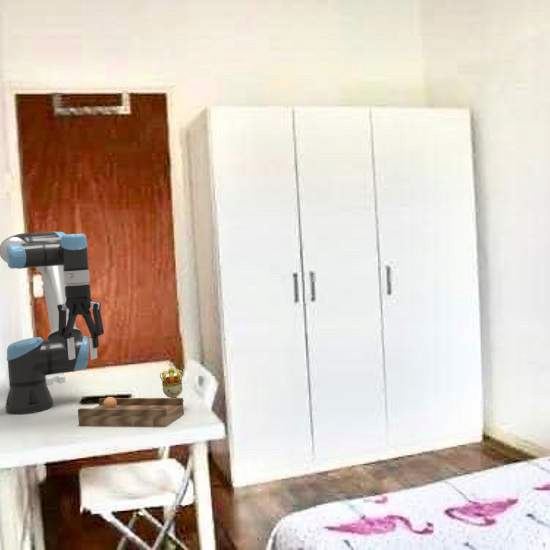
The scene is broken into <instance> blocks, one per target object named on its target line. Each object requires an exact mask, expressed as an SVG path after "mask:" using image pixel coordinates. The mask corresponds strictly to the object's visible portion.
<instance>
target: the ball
mask: <svg viewBox="0 0 550 550" xmlns="http://www.w3.org/2000/svg"><path fill="white" fill-rule="evenodd" d="M105 398H106V399H105V400H104V403H103V405H104V407H105V408H113V409H114V408H115V407H116V405H117V401H116V399H115V398H116V397H113V396H108V397H105Z"/></svg>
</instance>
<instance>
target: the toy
mask: <svg viewBox="0 0 550 550" xmlns="http://www.w3.org/2000/svg"><path fill="white" fill-rule="evenodd" d="M168 366H170V367H169V369H168V370H164V371H161V373H160V374H159V377H160V379H161V381H162V382H161V386H162V393H163V394H164V395H165V396H166V398H179V396H180V395H181V394H182V392H183V381H182V380H183V379H182V378H183V376H184V373H183V371H182V370H181V369H180V370H179V369H175V368H172V362H171V363H169V364H168ZM167 374H168V376H167ZM175 374H176V375H175ZM183 403H184V399H183Z"/></svg>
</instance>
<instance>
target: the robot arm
mask: <svg viewBox="0 0 550 550" xmlns="http://www.w3.org/2000/svg"><path fill="white" fill-rule="evenodd" d="M88 254H89V252H88V243H87V236H86V234H85V233H70V234H67V233H65V232H63V231H53V230H52V231H49V232H48V231H45V232H44V231H43V232H26V233H18V234H14V235H12V236H9V237H6V238H5V239H4V240H3V241H2V242H1V244H0V258H1V259H2V260H3V262H5V263H7V266H8V268H10V269H11V270H13V269H16V270H17V269H18V270H21V269H27V268H35V269H36V271H37V272H38V273H41V277H42V283H43V284H42V285H43V291H44V296H45V297H44V298H45V302H46V311H47V315H48V321H49V328H50V333H48V335H47V336H46V337H47V340H44V339H43V337H39V336H37V337H31V338H25V339H21V340H18V341H15V342H12V343H11V344H9V345H8V347H7V348H6V361H7V369H8V371H7V372H8V383H9V389H8V390H9V391H8V394H7V398H6V402H5V413H7V414H10V415H11V414H13V415H24V414H32V413H37V412H42V411H45V410H46V411H47V410H48V409H51V408H53V406H54V399H53V397H52V394H51V392H50V390H49V387H48V385H47V383H46V375H51V374H59V373H64V374H66V373H72V372H73V373H74V372H77V371H83V370H85V369H87V367H88V364H89V358H90V360H95V359H98V349H97V348H99V346H100V343H99V341H100V340H99V337H100V336H102V335H104V333H105V331H104V330H105V329H104V325H103V320H102V319H103V318H102V314H101V307H102V306H101V305H102V304H101V302H94V301H92V298H91V295H92V293H91V291H92V290H91V285H90V284H89V283H90V282H91V281H90V280H91V279H90V268H89V255H88ZM90 309H92V312H91V310H90ZM78 315H79V316H82V318H83V319H84V322H85V324H86V326H87V329H88V331H89V334H90V337H89V338H88V336H86V335H83V333H82V330H81V329H80V328H78V327H77V325H76V318H77V317H78ZM92 315H93V317H92ZM89 355H90V357H89Z"/></svg>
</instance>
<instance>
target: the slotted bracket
mask: <svg viewBox="0 0 550 550" xmlns="http://www.w3.org/2000/svg"><path fill="white" fill-rule="evenodd" d="M56 383H59V384H60V385H61V384H66V376H65V373H59V374H51V375H46V385H47V386H51V385H52V386H53V385H54V384H56Z"/></svg>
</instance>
